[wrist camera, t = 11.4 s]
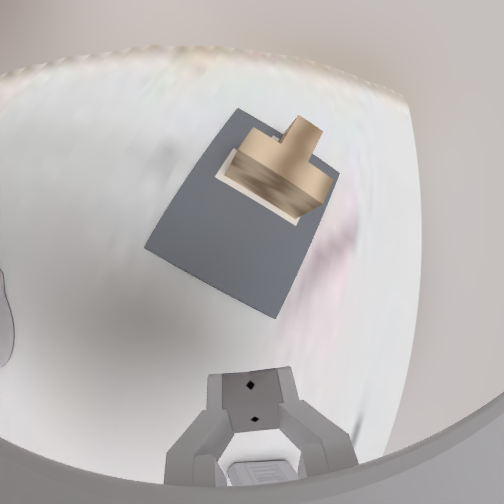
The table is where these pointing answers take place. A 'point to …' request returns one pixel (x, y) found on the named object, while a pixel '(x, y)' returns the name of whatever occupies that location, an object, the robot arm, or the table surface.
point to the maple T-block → (282, 168)
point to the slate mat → (236, 226)
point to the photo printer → (261, 472)
